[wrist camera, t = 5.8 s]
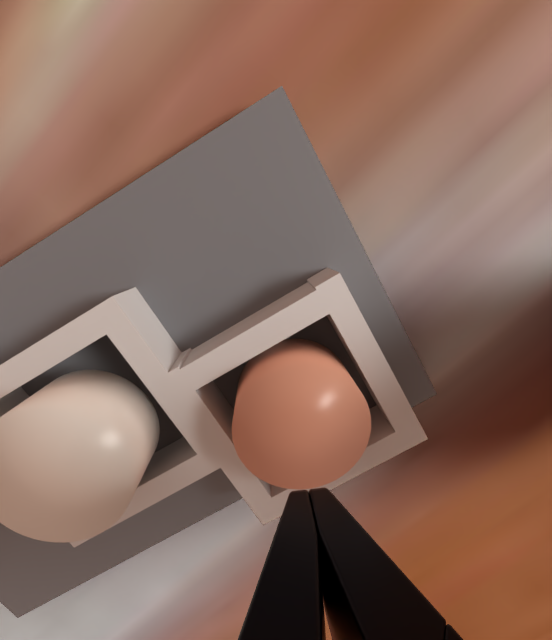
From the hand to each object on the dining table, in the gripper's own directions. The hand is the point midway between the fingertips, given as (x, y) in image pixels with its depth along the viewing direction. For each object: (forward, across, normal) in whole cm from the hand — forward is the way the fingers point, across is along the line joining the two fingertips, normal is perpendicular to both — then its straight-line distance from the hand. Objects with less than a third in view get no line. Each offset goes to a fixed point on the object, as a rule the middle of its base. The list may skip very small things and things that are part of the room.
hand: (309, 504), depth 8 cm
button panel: (+8, +6, 0) cm, 10 cm away
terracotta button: (+6, 0, 0) cm, 6 cm away
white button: (+5, +7, 0) cm, 8 cm away
